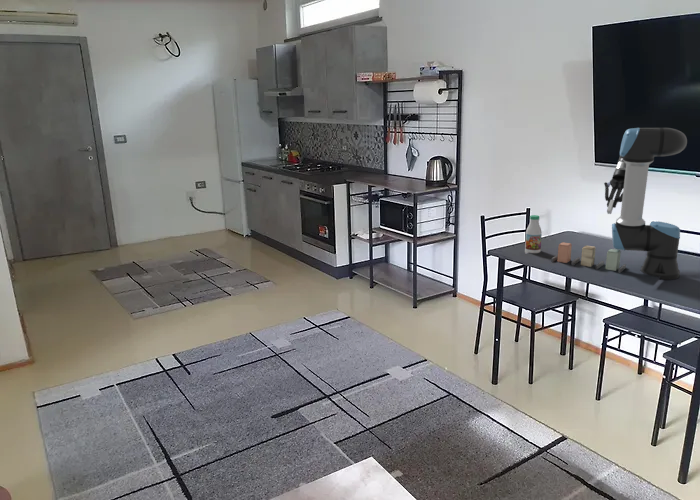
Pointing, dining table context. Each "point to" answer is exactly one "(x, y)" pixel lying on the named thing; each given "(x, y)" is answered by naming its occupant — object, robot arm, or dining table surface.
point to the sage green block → (613, 259)
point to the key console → (596, 265)
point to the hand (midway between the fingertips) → (608, 212)
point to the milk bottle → (533, 236)
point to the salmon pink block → (564, 252)
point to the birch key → (588, 256)
